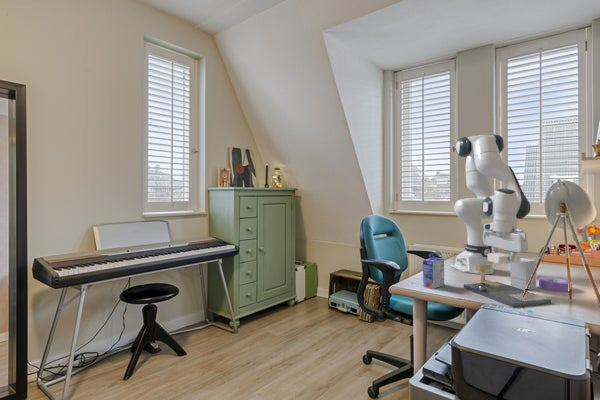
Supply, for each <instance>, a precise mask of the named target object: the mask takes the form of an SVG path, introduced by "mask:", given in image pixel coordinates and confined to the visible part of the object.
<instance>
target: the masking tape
mask: <svg viewBox="0 0 600 400" xmlns="http://www.w3.org/2000/svg"><path fill="white" fill-rule="evenodd" d="M568 280H569V279H565V278H559V277H555V276H540V277H538V287H539V288H541V289H543V290H546V291H551V292H558V293H568Z"/></svg>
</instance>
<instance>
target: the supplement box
mask: <svg viewBox="0 0 600 400" xmlns="http://www.w3.org/2000/svg"><path fill="white" fill-rule="evenodd" d="M535 266H536V267H537V260H535V259H531V258H530V259H529V258H524V257H520V262H515V263H510V270H509V272H510V273H509V275H510V278H509V279H510V283H509V285H510V286H513V287H516V288H519V289H522V290H524V291H526V290H525V288H526V286H527V284H528V282H529V280H530V278H531V275H532V274H533V271H534V269H535ZM536 289H537V272H536V273H535V275H534V277H533V280H532V282H531V284H530V287H529V290H528V291H531V290H536Z"/></svg>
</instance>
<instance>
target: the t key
mask: <svg viewBox="0 0 600 400" xmlns="http://www.w3.org/2000/svg"><path fill="white" fill-rule="evenodd" d="M490 268H491V265H489V264H482V265H476V271H481V274H480V283H481V286H485V283H486V284H490V285H494V286H501V284H500V283H501V282H500V283H496V282H497V281H492V280H487V279H486V274H485V270H490Z"/></svg>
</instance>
